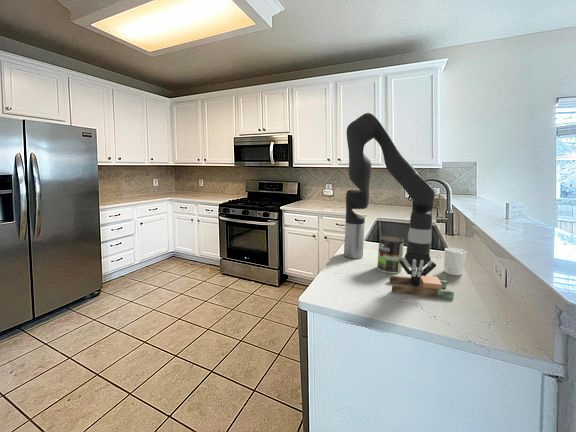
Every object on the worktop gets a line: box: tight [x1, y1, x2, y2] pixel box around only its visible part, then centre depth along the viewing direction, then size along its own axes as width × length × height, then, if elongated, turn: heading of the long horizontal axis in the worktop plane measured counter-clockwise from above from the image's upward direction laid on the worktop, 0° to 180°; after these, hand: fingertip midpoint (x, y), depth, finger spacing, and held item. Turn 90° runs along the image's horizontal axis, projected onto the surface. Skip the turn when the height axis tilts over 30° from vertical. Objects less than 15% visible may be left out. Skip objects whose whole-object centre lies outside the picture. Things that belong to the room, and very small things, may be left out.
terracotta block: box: [418, 275, 443, 290], centre depth 105 cm, size 6×7×4 cm
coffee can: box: [376, 235, 405, 275], centre depth 125 cm, size 10×10×14 cm
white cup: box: [443, 247, 467, 276], centre depth 122 cm, size 8×8×10 cm
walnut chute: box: [389, 275, 455, 300], centre depth 106 cm, size 20×10×2 cm, turn 75°
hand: (414, 285), depth 106 cm, fingers closed
